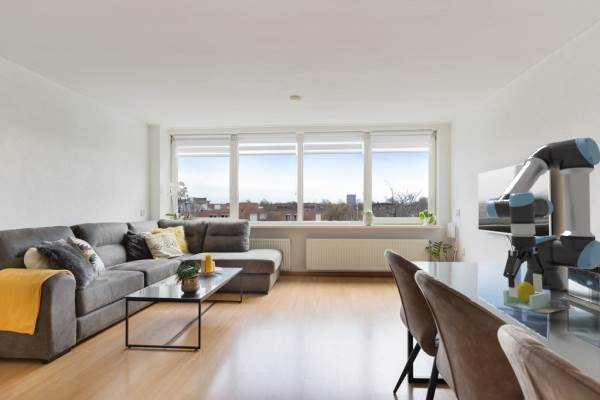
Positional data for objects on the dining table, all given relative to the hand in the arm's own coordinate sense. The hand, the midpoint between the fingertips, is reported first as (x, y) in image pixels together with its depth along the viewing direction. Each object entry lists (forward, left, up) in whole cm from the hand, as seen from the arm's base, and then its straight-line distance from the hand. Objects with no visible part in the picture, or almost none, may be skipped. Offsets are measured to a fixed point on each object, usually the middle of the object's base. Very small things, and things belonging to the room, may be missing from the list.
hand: (526, 294), depth 128 cm
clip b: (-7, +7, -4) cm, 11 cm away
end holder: (0, 0, -4) cm, 4 cm away
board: (-3, +2, -5) cm, 7 cm away
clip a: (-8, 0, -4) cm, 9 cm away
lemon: (0, 0, -4) cm, 4 cm away
